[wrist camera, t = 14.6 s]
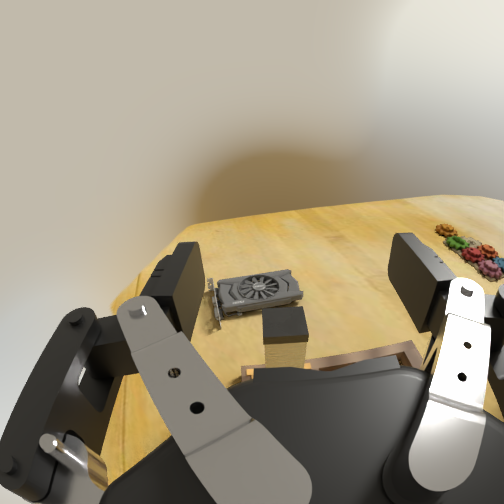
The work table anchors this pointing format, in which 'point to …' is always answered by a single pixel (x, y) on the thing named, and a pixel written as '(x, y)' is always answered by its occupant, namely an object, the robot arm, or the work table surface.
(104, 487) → the robot arm
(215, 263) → the work table surface
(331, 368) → the rail
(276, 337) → the peg
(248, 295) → the graphics card
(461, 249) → the gear puzzle
